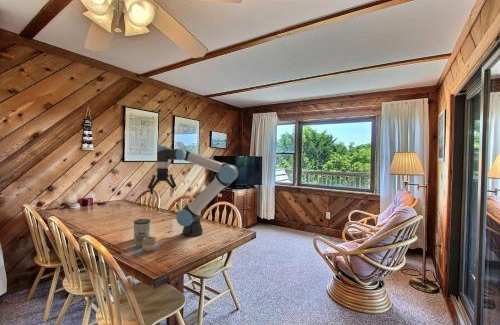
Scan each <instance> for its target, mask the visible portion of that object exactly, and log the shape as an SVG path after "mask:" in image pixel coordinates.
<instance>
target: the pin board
mask: <svg viewBox="0 0 500 325" xmlns="http://www.w3.org/2000/svg"><path fill="white" fill-rule="evenodd" d="M126 249H127V250H128V251H130V253H132V254H133V255H135V256H136V257H140V256H145V255H147V254H144V253H143V248H136V247H135V245H132V246H129V247H126ZM162 251H165V249H164V248H162V247H161V246H159V245H158V244H156V251H155V252H154V253H157V252H162Z"/></svg>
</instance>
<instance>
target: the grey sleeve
mask: <svg viewBox="0 0 500 325" xmlns="http://www.w3.org/2000/svg"><path fill="white" fill-rule="evenodd" d="M145 237H147V232H138V233H136V242H135V245H134V246H135V247H136V248H143V238H145Z"/></svg>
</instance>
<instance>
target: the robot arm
mask: <svg viewBox="0 0 500 325" xmlns="http://www.w3.org/2000/svg"><path fill="white" fill-rule="evenodd" d="M156 148H157V150H156V156H157V157H156V159H157V160H156V167H157V168H156V174H152V176H151V179H150V181H149V184H148V185H147V189H149V191H150V192H149V194H150V196H151V197H150V198H151V199H152V200H154V199H155V189H154V188H156V186H157V185H158V184H159V182H166V183H167V184H168V186H169V197H170V198H174V197H173V193H174V192H175V191H174V190H175V188H176V187H177V184H176V182H175V180H174V178H173V174H171V173H169V161H170V160H175V161H176V160H177V161H185V162H188V163H191V164H193V165H196V166H199V167H202V168H204V169H207V170H210V171H212V172H215V173H216V174H215V175H214V179H213V180H212V181H211V182H210V183H209V184H208V185H207V186H206V187H205V188H204V189H203V190H202V191H201V192H200V193H199V194H198V195H197V196H196V197H195V199H194V200H193V201H192V202H187V203H185V205H184V207H182V209H180V210H179V211H178V212H177V213H176V216H175V218H176V222H177V224H179V225H180V226H182V227H183V228H182V232H181V235H182V236H184V237H189V238H190V237H192V238H193V237H199V236H201V235H203V232H204V230H203V228H202V224H201V216H202V215H201V214H202V212H201V211H202V210H203V209H204V208H205V207H206V206H207V205H208V204H210V202H211V201H212V200H213V199H214V198H215V197H216V196H217V195H218V194H219V193H220V192H221V191H222V190H223V189H224V188H228V187H229V186H230V185H231V184H232V183H233V182H234V181H235V180H236V179H238V177H239V174H240V171H239V168H238V167H237V166H236V165H234V164H230V163H226V162H220V161H217V160H215V159H211V158H209V157H206V156H203V155H201V154H198V153H195V152H192V151H190V150H188V149H184V148H169V146H168V145H158V146H157V147H156Z"/></svg>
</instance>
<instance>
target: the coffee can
mask: <svg viewBox="0 0 500 325" xmlns="http://www.w3.org/2000/svg"><path fill="white" fill-rule="evenodd" d="M138 232H147V237H149V236H150V237H151V219H149V218H139V219H135V220H134V221H133V241H134V242H135V243H136V233H138Z"/></svg>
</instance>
